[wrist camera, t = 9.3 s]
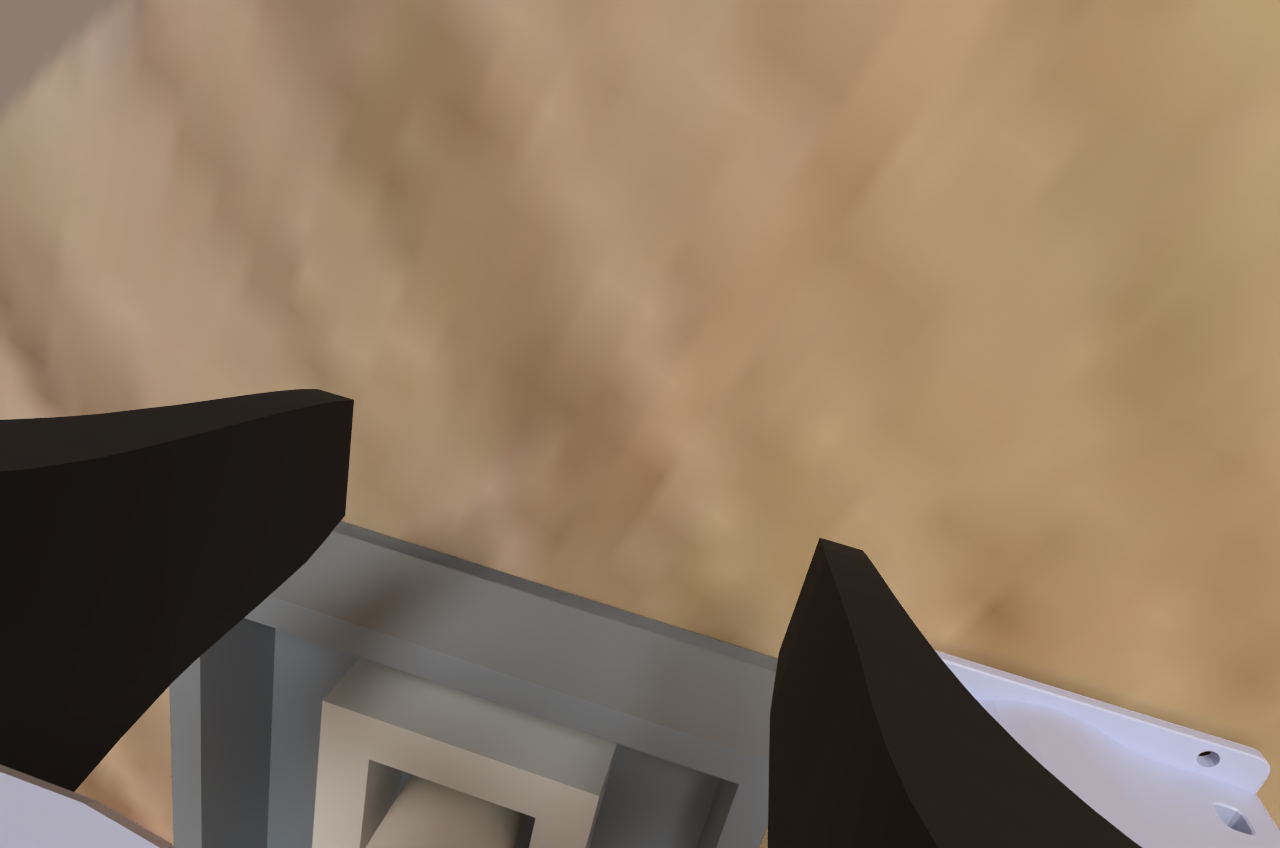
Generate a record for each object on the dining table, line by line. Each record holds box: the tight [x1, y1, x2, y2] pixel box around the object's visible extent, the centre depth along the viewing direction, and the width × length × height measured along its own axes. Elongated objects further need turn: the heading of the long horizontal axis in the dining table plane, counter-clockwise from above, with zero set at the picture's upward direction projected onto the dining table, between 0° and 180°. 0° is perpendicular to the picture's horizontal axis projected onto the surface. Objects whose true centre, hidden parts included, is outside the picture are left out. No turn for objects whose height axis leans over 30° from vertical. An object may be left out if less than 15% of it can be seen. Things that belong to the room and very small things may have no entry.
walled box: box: [169, 521, 778, 848], centre depth 25 cm, size 17×16×4 cm
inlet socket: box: [312, 657, 618, 848], centre depth 25 cm, size 8×8×3 cm
